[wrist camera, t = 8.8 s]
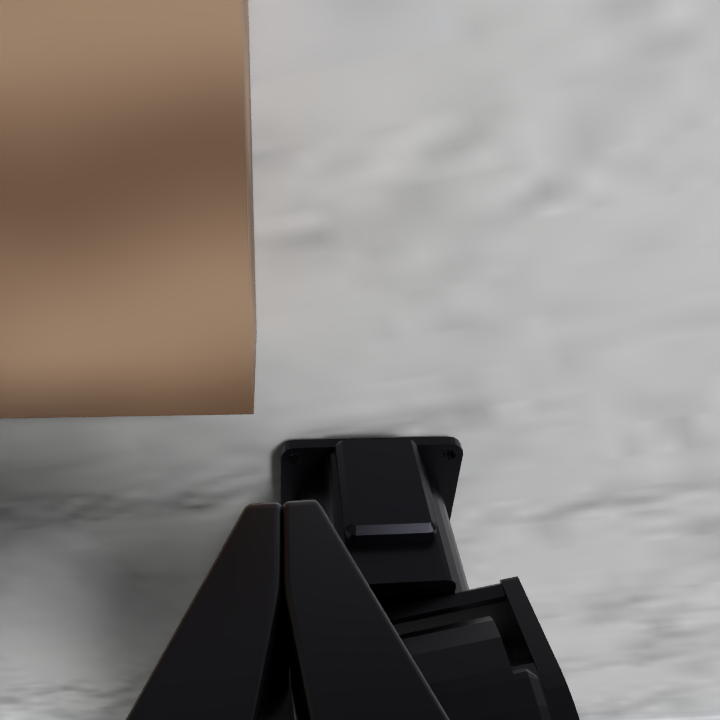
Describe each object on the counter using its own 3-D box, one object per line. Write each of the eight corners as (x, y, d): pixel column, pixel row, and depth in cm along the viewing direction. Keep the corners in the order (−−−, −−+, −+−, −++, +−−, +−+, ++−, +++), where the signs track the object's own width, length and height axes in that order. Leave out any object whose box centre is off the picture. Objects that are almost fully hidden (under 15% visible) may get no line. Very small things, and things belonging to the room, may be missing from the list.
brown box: (256, 333, 21) (253, 413, 18) (-86, 334, 20) (-156, 421, 17) (244, -141, 14) (236, -151, 11) (-272, -184, 13) (-452, -210, 10)
